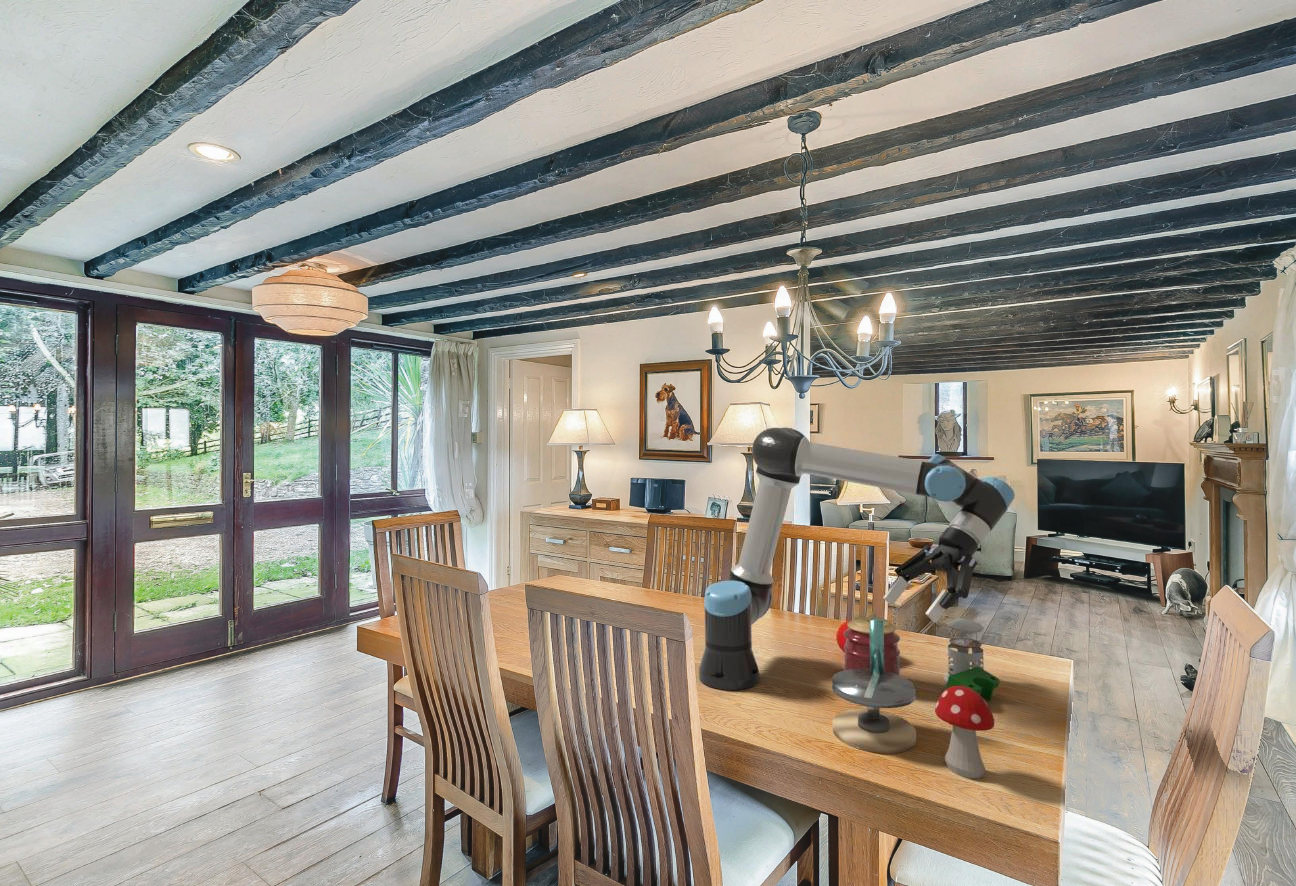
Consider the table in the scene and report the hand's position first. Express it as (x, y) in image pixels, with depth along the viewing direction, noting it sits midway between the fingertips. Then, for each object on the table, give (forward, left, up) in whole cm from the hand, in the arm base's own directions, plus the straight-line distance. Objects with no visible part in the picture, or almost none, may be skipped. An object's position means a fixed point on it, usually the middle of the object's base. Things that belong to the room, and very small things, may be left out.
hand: (907, 609), depth 134 cm
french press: (-11, +26, -23) cm, 36 cm away
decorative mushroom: (+22, -6, -23) cm, 33 cm away
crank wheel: (+5, -13, -19) cm, 24 cm away
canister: (-17, +3, -23) cm, 28 cm away
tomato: (-33, +11, -23) cm, 41 cm away
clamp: (-1, +19, -23) cm, 30 cm away
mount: (+5, -13, -23) cm, 27 cm away
